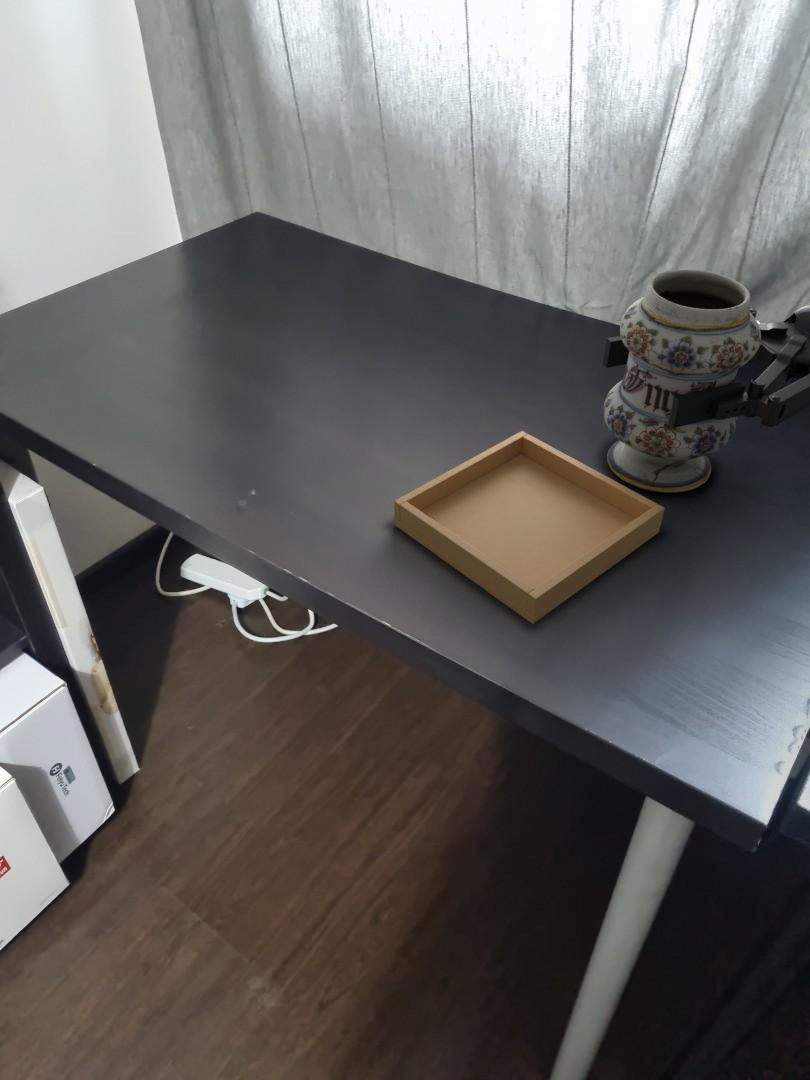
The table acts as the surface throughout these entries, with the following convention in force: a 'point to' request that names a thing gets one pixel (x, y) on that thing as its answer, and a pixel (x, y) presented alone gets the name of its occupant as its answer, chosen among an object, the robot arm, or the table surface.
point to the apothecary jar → (677, 376)
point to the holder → (528, 523)
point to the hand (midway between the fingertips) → (638, 381)
